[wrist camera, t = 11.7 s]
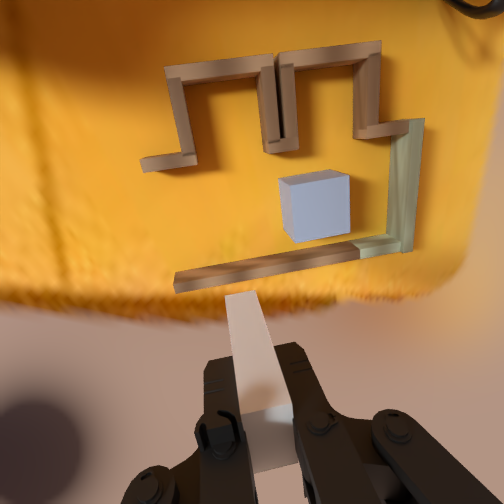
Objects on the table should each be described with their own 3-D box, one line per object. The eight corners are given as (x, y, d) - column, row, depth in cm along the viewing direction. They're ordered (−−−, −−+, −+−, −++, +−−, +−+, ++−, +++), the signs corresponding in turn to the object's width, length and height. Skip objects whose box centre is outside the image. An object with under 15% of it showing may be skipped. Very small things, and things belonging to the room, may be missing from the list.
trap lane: (177, 281, 36) (175, 296, 32) (124, 78, 27) (114, 70, 24) (394, 241, 38) (412, 251, 35) (407, 43, 30) (432, 32, 26)
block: (283, 228, 35) (295, 243, 31) (277, 178, 33) (289, 185, 28) (331, 219, 36) (350, 232, 31) (329, 169, 34) (349, 175, 29)
